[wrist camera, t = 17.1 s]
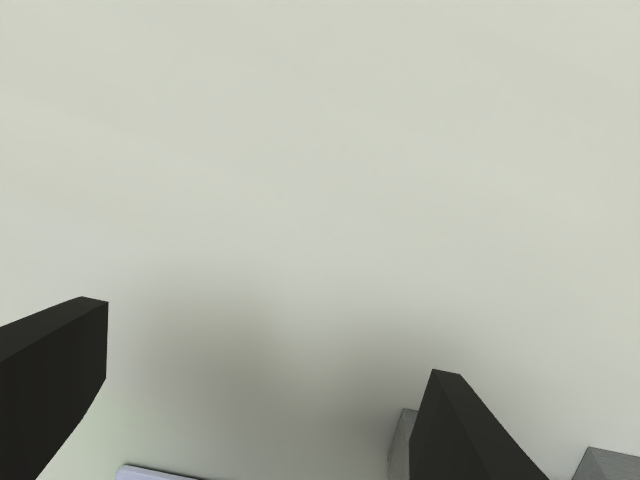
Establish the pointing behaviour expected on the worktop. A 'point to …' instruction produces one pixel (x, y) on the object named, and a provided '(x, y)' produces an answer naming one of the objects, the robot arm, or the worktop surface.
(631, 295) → the worktop surface
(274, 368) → the worktop surface
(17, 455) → the robot arm
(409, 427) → the bracket
